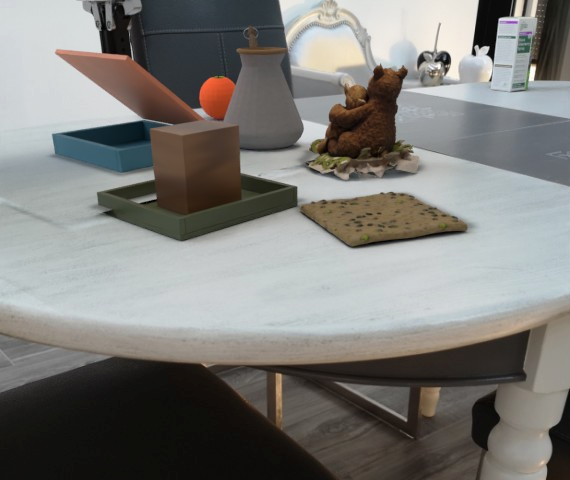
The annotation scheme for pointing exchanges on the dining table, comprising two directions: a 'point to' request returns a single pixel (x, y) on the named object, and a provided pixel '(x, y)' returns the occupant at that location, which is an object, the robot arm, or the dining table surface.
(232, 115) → the grey lidded jar
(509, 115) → the dining table surface
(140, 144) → the tray
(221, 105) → the clementine
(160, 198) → the block
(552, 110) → the dining table surface
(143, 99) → the lunchbox lid
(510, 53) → the syrup box
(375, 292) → the dining table surface
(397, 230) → the cookie
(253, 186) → the tray
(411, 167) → the bear figurine
